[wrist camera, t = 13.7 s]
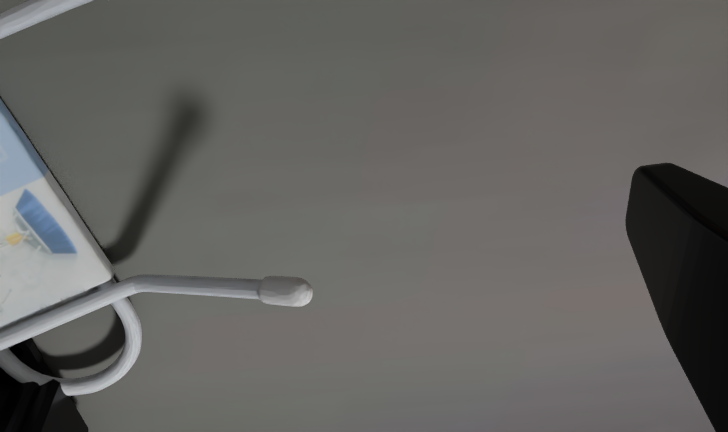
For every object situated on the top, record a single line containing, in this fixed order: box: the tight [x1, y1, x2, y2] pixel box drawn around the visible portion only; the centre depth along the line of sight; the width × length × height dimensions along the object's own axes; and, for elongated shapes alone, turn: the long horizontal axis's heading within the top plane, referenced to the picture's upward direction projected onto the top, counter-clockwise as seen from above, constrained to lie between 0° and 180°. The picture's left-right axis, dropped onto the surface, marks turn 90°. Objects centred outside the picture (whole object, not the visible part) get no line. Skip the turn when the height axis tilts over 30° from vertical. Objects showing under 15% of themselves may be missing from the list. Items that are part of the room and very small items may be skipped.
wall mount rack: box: [0, 0, 313, 396], centre depth 18 cm, size 16×14×6 cm
